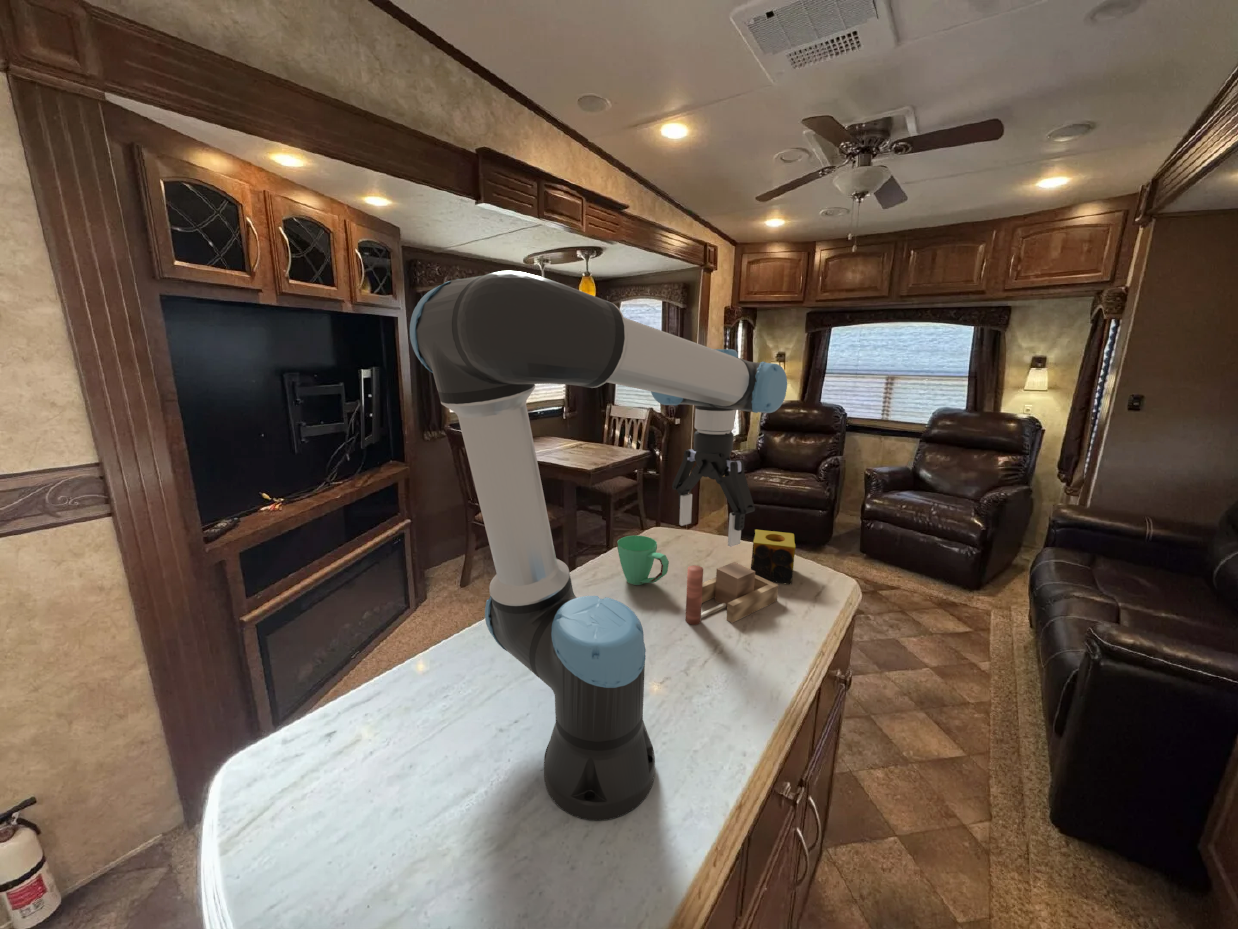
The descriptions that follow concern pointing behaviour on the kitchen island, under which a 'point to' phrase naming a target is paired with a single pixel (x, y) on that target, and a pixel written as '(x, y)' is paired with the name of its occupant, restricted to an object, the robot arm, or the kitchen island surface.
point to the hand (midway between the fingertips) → (708, 533)
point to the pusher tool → (717, 588)
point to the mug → (640, 559)
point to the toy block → (773, 556)
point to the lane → (745, 598)
